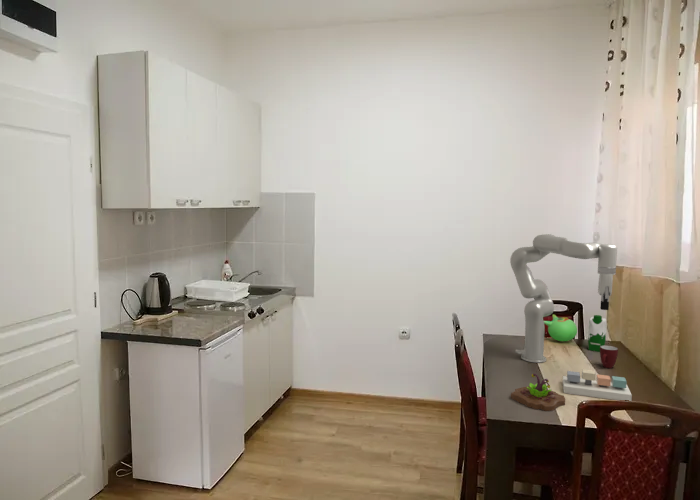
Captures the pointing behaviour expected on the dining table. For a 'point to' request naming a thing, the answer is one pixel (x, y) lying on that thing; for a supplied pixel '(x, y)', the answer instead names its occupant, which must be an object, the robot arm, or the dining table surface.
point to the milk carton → (596, 333)
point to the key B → (588, 376)
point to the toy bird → (561, 328)
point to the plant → (538, 396)
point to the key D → (619, 382)
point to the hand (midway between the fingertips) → (604, 309)
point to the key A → (573, 376)
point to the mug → (608, 356)
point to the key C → (603, 380)
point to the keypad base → (596, 390)
